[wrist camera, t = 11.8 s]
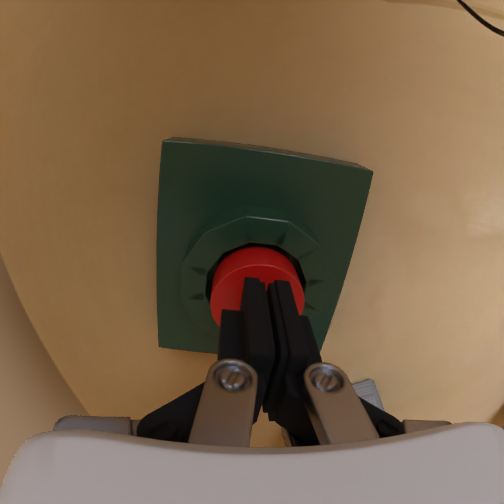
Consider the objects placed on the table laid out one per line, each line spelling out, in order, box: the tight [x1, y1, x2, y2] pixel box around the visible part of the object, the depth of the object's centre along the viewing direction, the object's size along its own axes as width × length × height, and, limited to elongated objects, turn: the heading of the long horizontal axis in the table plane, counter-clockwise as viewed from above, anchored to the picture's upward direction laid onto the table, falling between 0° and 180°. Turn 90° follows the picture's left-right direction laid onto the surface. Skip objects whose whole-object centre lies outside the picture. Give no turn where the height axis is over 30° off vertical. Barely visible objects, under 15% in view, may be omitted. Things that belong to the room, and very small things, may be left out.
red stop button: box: [210, 247, 305, 327], centre depth 14 cm, size 4×4×2 cm
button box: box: [157, 137, 373, 354], centre depth 16 cm, size 12×10×4 cm
